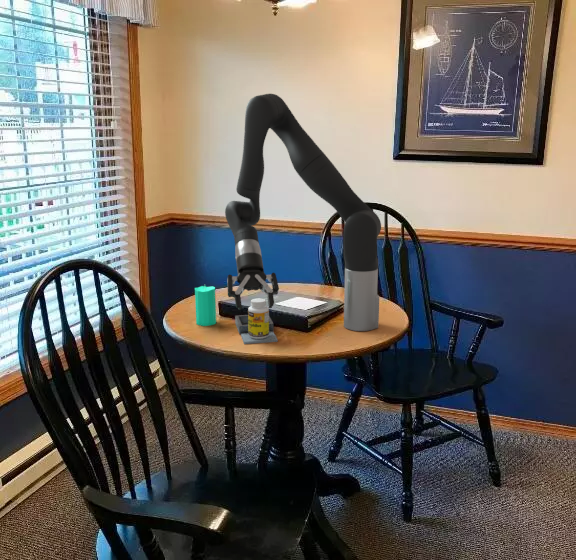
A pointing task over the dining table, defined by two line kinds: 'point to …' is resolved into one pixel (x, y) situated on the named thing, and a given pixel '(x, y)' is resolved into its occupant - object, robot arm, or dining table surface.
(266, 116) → the robot arm
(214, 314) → the candle
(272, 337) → the slate mat
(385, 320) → the dining table surface
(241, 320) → the iron collar
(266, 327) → the supplement bottle
